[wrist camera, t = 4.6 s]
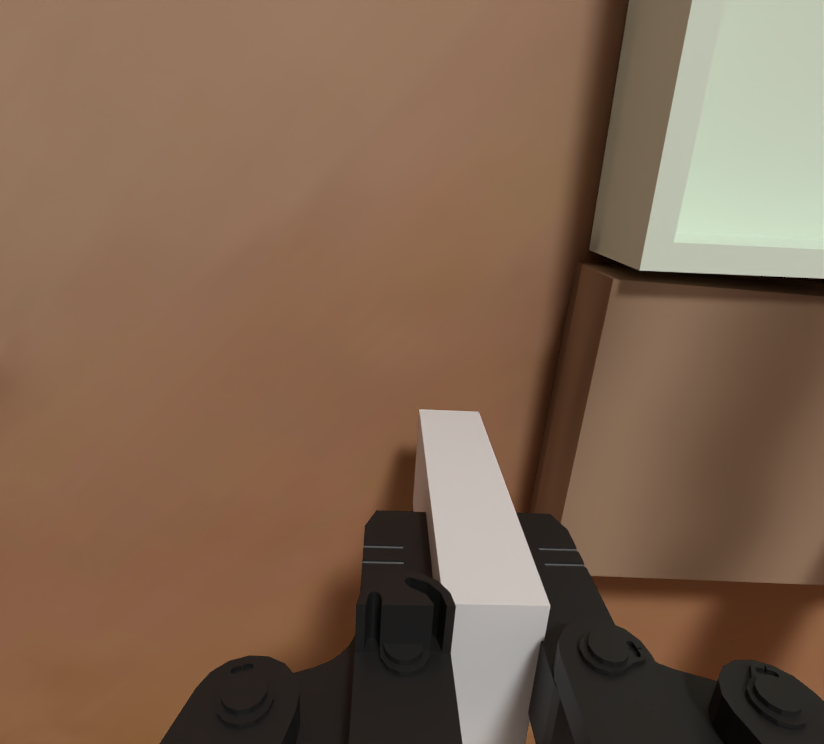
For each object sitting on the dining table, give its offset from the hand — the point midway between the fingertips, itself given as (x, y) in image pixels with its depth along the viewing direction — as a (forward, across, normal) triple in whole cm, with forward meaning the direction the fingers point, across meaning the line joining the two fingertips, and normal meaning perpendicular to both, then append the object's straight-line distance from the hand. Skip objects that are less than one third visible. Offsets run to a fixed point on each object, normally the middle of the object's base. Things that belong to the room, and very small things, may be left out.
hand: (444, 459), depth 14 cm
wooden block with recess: (+3, +10, +1) cm, 10 cm away
